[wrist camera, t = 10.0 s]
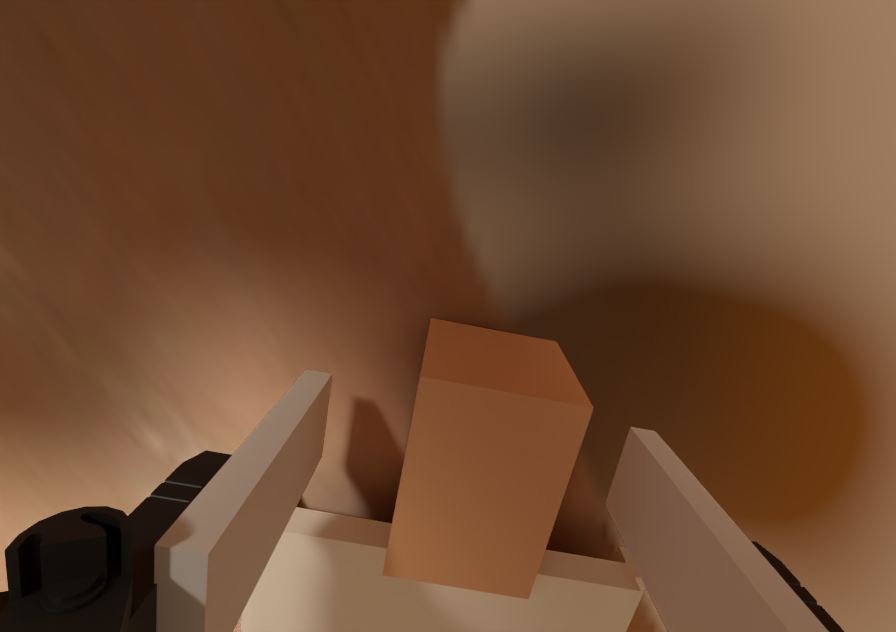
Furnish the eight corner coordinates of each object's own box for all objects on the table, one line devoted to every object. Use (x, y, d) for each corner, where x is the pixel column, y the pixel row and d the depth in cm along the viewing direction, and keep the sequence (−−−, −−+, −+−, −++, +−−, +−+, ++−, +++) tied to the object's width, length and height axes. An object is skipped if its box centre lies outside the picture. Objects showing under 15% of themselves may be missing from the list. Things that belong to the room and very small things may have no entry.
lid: (285, 290, 13) (217, 339, 10) (694, 367, 14) (783, 442, 10) (257, 685, 19) (207, 811, 15) (545, 729, 20) (565, 862, 16)
